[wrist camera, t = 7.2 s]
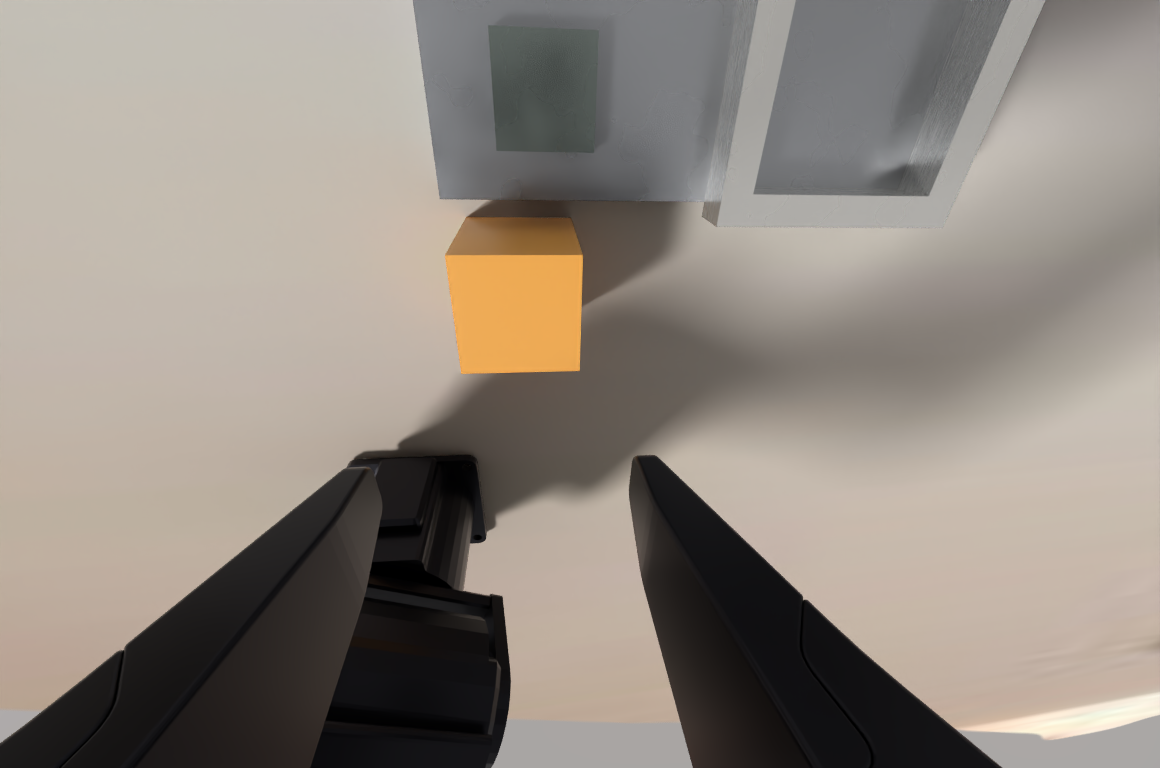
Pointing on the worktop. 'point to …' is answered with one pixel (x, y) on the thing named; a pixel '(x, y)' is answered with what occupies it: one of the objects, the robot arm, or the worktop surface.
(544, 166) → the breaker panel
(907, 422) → the worktop surface
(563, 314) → the orange cube
